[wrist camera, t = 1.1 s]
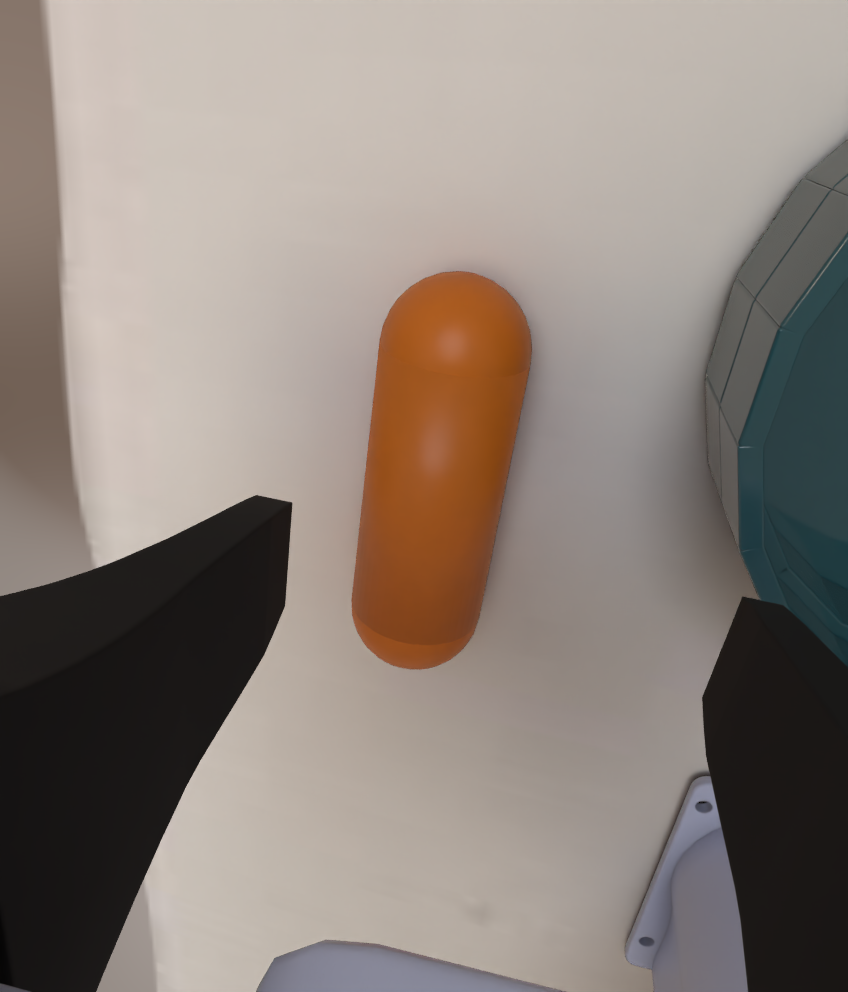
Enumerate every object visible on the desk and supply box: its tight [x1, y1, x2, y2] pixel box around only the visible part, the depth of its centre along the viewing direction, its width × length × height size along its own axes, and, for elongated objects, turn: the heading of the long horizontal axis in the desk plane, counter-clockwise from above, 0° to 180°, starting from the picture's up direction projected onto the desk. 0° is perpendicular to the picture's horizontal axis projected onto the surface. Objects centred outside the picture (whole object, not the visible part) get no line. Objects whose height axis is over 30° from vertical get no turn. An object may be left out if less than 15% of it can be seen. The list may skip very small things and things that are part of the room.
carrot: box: [352, 271, 532, 669], centre depth 21 cm, size 11×4×4 cm, turn 172°
